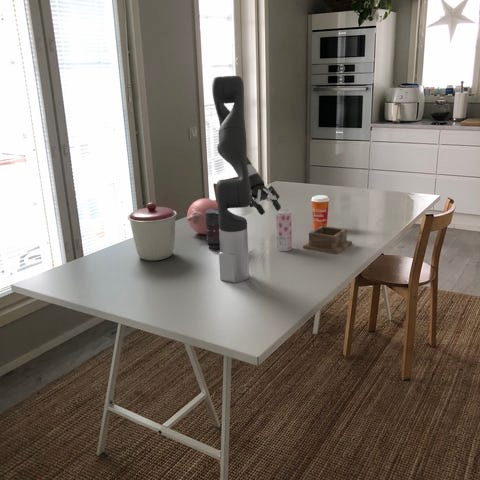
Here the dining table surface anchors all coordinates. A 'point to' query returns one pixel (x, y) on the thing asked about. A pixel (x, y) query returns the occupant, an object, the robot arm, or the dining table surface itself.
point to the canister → (153, 231)
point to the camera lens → (212, 229)
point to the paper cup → (320, 210)
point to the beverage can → (284, 230)
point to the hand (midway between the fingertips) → (271, 211)
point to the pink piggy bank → (200, 214)
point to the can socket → (328, 240)
